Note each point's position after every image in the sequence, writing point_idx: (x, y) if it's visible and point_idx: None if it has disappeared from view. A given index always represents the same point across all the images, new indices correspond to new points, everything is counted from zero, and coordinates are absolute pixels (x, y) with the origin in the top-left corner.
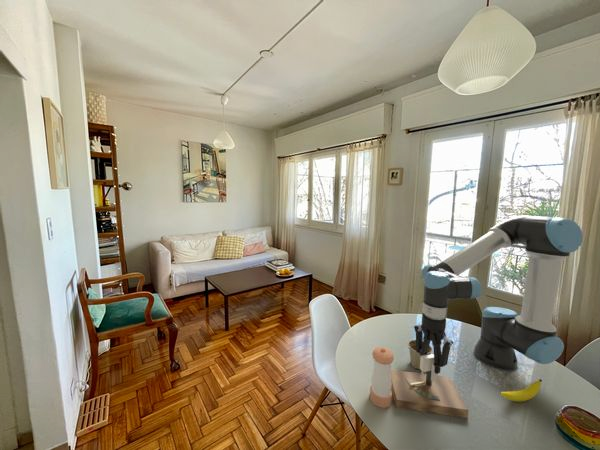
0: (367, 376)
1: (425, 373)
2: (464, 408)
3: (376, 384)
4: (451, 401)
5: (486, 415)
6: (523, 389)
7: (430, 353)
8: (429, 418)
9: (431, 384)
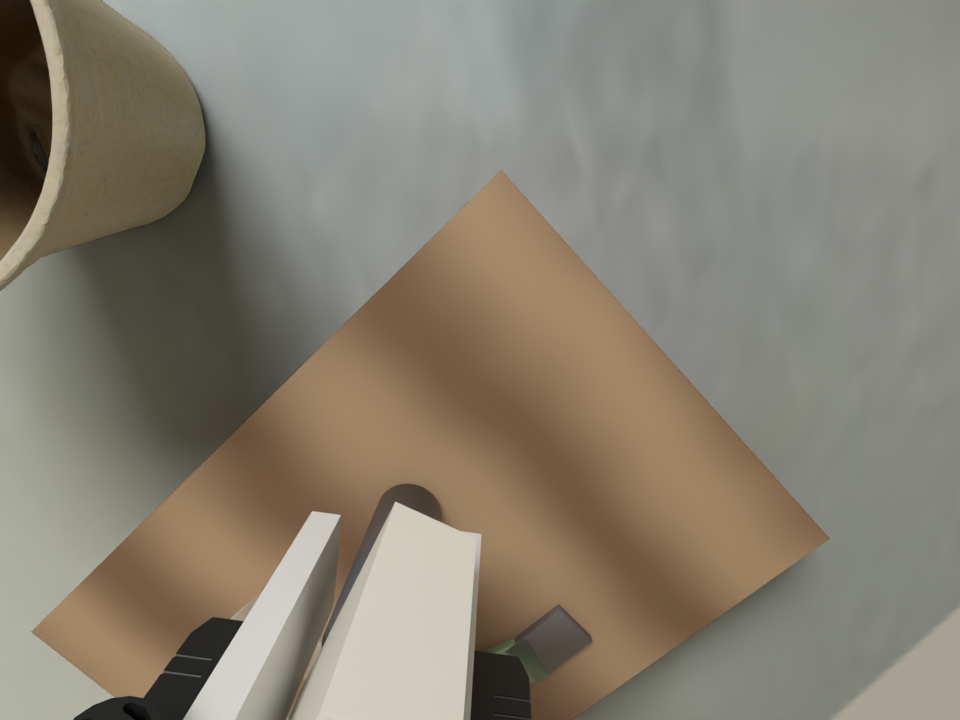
0: (5, 713)
1: (335, 569)
2: (794, 549)
3: None
4: (673, 559)
5: (909, 319)
6: None
7: (77, 55)
8: None
9: (439, 520)
